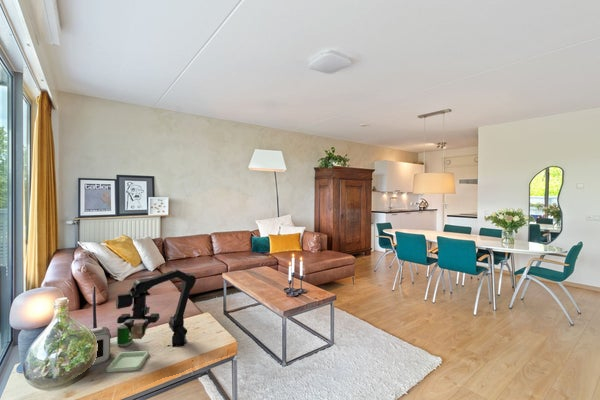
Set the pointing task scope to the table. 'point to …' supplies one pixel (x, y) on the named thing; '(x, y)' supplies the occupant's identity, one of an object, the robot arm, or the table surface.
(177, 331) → the robot arm
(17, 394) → the table surface
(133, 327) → the walnut block
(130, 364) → the tray
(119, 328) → the soda can
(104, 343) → the alarm clock
